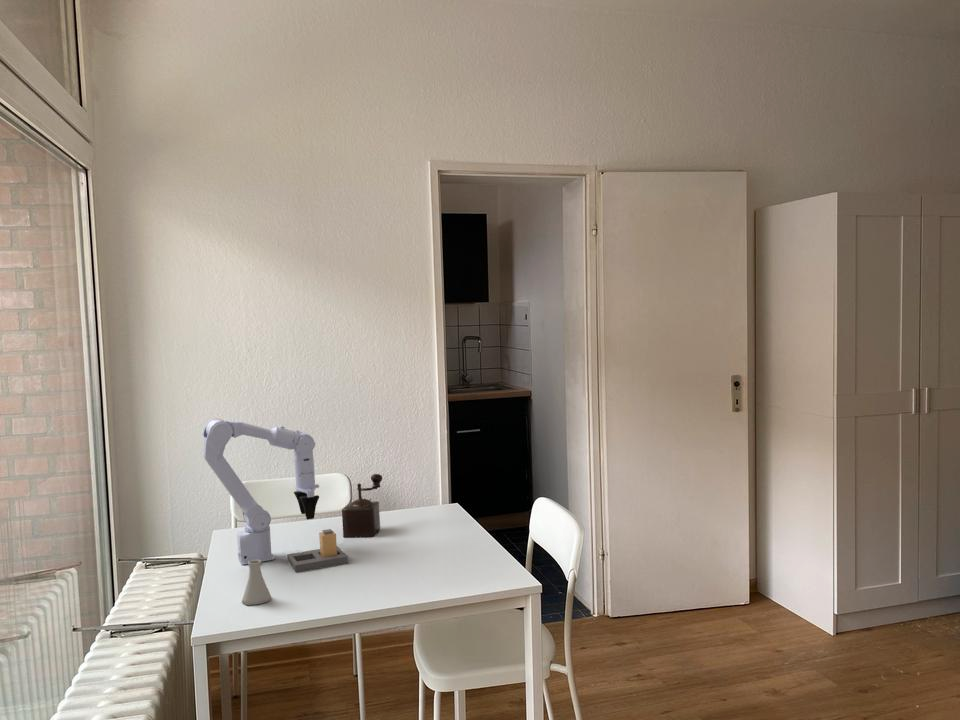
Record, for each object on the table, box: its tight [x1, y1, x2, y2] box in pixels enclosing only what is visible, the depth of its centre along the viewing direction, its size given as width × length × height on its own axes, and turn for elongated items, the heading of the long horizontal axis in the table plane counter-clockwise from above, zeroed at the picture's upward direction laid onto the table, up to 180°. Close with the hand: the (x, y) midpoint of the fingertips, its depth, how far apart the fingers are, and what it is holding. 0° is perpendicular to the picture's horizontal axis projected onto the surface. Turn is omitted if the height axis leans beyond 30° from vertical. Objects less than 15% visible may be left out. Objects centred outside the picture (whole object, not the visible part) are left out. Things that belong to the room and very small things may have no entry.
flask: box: [241, 560, 272, 606], centre depth 189 cm, size 7×7×10 cm
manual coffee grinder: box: [341, 473, 383, 539], centre depth 250 cm, size 16×11×18 cm
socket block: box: [286, 545, 349, 573], centre depth 219 cm, size 15×12×2 cm
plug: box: [318, 528, 338, 557], centre depth 220 cm, size 4×4×9 cm
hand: (307, 516), depth 231 cm, fingers open, 7 cm apart
